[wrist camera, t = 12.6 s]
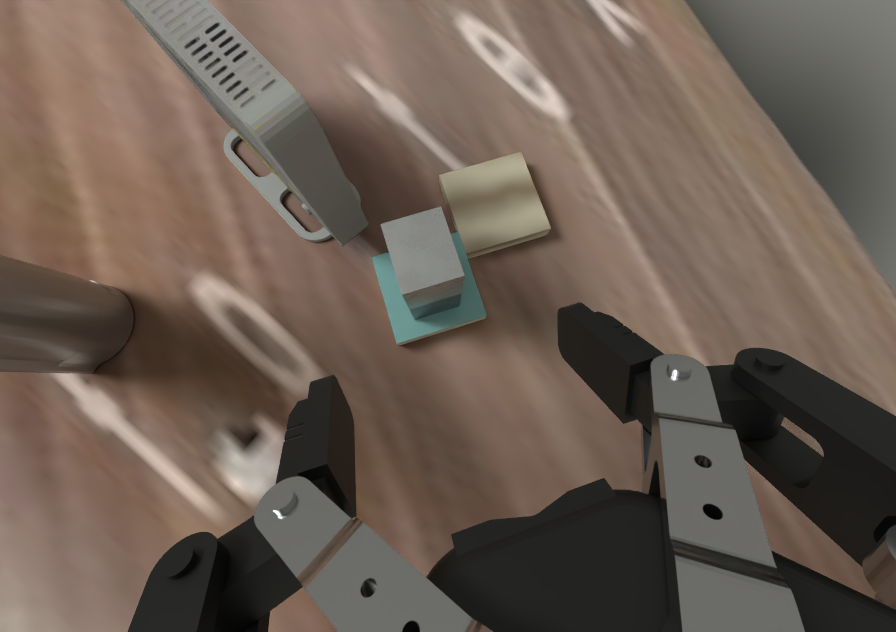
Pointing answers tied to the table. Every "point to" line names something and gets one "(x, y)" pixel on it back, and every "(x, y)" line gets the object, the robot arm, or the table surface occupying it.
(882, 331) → the table surface
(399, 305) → the stand
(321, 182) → the network device
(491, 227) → the stand
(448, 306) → the grey rectangular block
